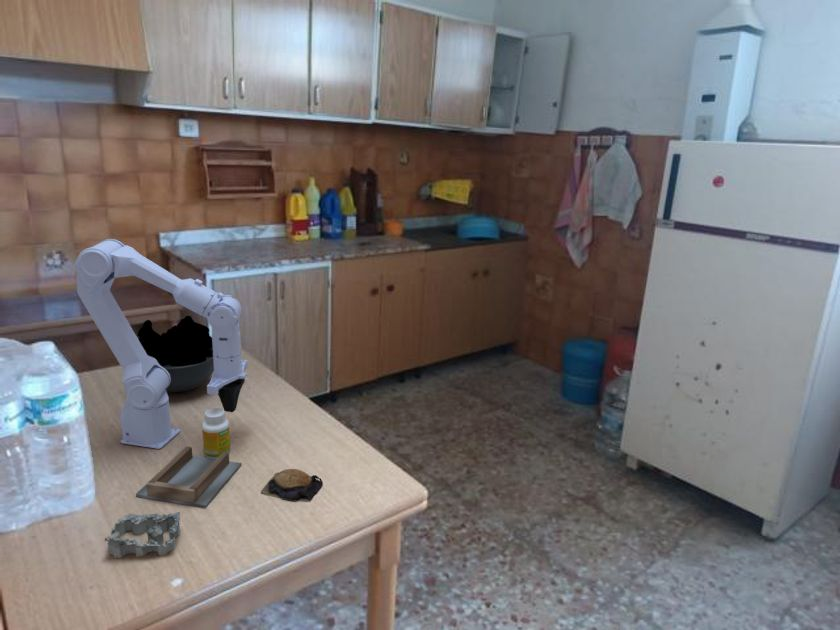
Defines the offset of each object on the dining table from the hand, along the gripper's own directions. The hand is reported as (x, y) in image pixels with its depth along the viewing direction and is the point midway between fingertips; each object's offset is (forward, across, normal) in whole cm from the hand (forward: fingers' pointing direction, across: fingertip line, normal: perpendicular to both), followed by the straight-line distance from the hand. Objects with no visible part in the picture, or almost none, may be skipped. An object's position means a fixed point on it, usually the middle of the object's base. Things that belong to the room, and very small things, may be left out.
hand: (230, 410), depth 128 cm
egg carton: (+7, -34, -2) cm, 35 cm away
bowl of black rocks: (+7, +20, +24) cm, 32 cm away
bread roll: (+8, -14, -20) cm, 25 cm away
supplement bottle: (+7, -6, 0) cm, 10 cm away
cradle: (+7, -17, 0) cm, 18 cm away
